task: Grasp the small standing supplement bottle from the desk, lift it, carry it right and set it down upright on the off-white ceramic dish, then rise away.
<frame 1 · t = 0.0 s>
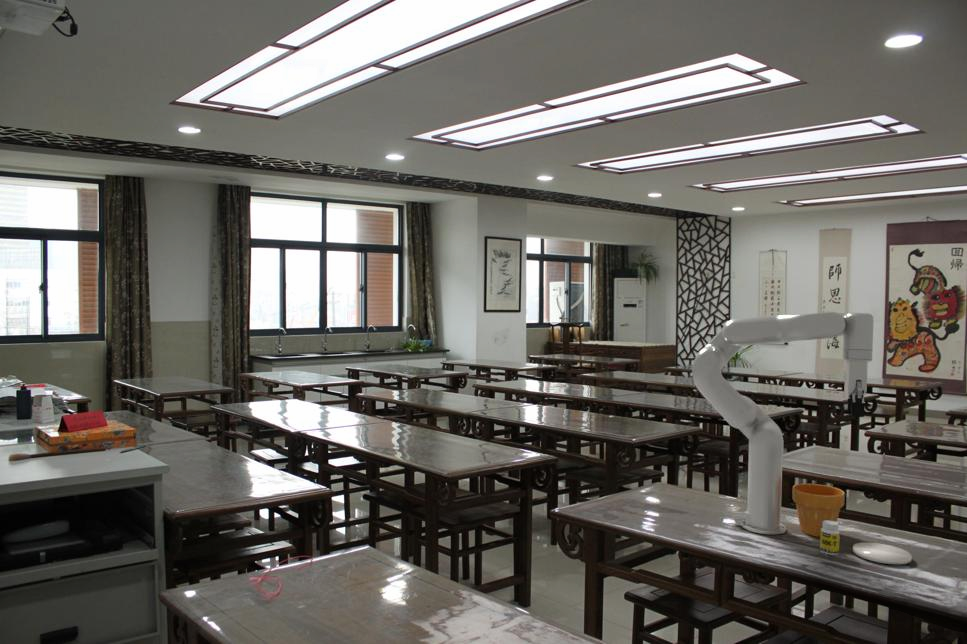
hand: (855, 414, 209), 37 cm above the table, tool pointing down, fingers open, 9 cm apart
supplement bottle: (829, 553, 198), on the table
flower pot: (816, 533, 216), on the table
dish: (881, 557, 196), on the table
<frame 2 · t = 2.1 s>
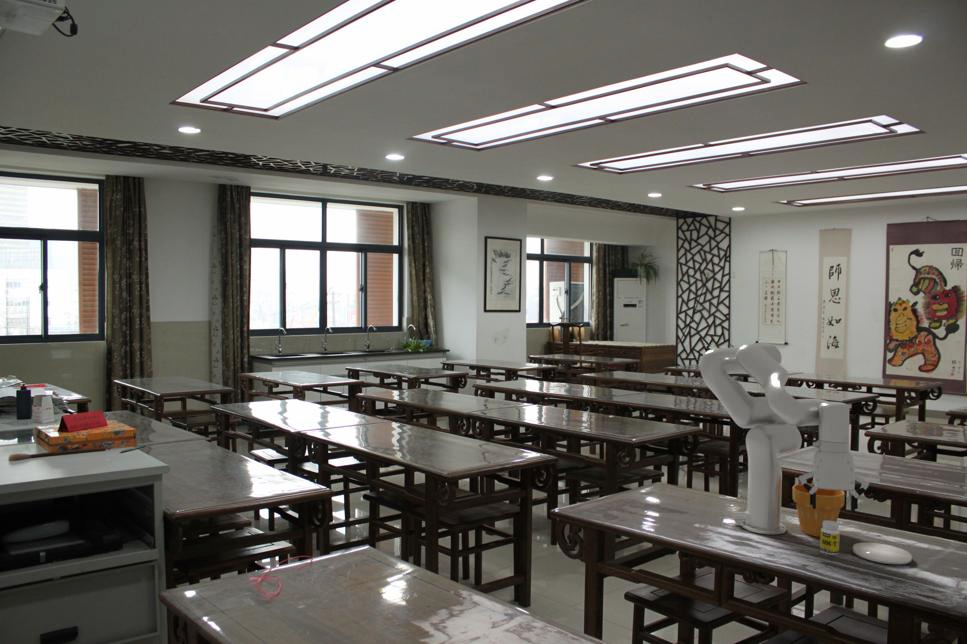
hand: (833, 509, 197), 12 cm above the table, tool pointing down, fingers open, 9 cm apart
nothing on the table moved.
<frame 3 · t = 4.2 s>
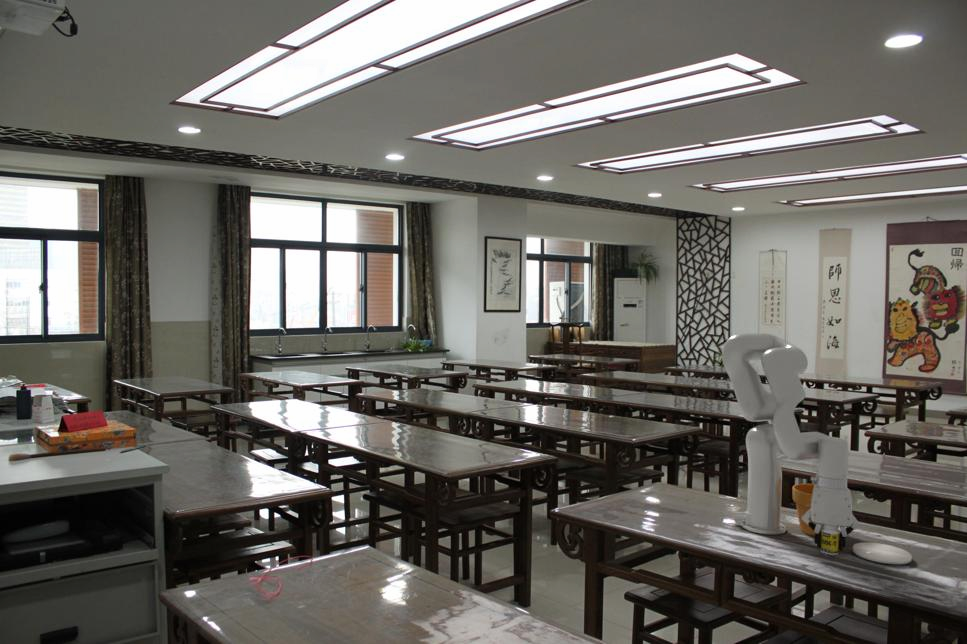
hand: (829, 547, 198), 1 cm above the table, tool pointing down, fingers closed on supplement bottle, 4 cm apart
supplement bottle: (829, 553, 198), on the table, touching gripper
everything else where it was.
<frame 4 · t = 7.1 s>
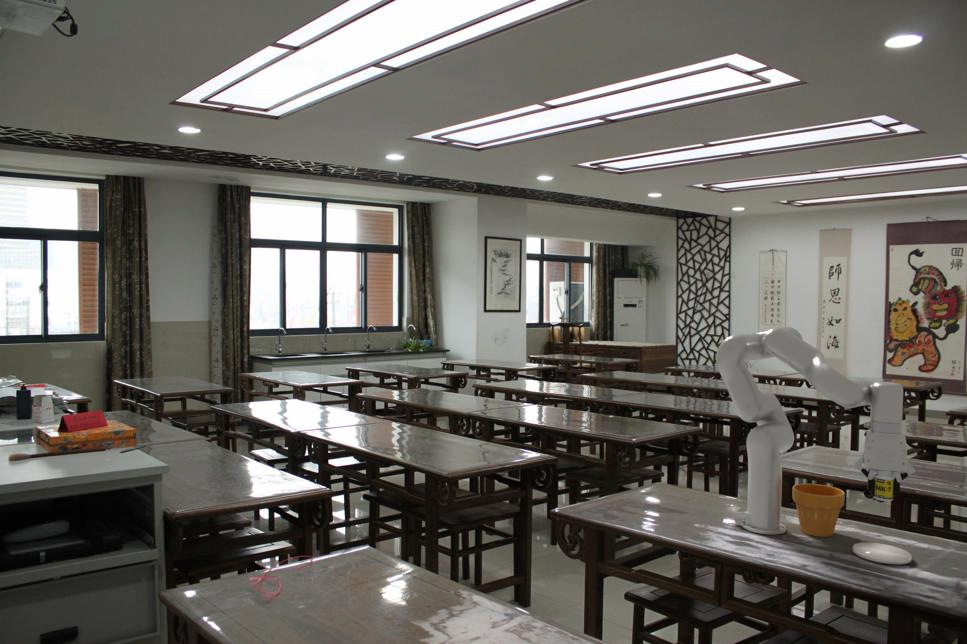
hand: (883, 493, 195), 17 cm above the table, tool pointing down, fingers closed on supplement bottle, 4 cm apart
supplement bottle: (883, 499, 195), point 16 cm above the table, touching gripper
everything else where it was.
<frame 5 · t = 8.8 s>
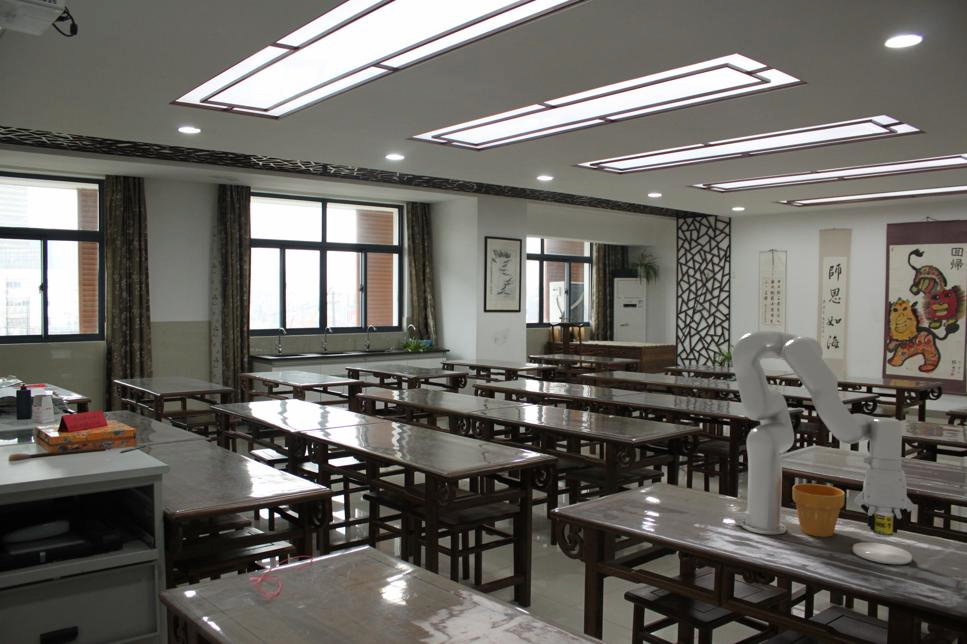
hand: (883, 529, 195), 8 cm above the table, tool pointing down, fingers closed on supplement bottle, 4 cm apart
supplement bottle: (883, 535, 195), point 6 cm above the table, touching gripper
everything else where it was.
when the fingers open (4 cm above the table, at t = 10.2 s): supplement bottle drops 1 cm, resting on dish.
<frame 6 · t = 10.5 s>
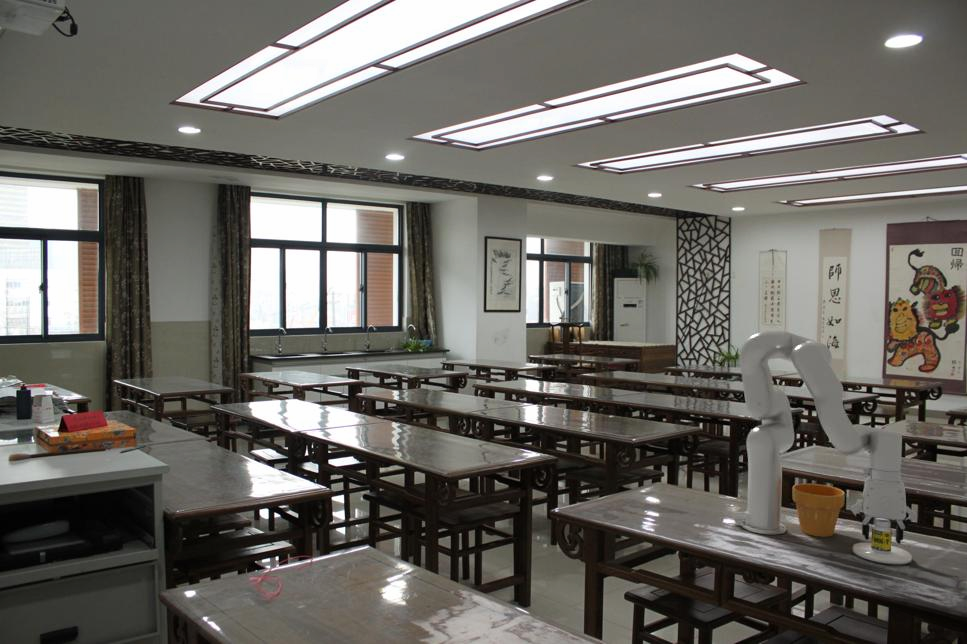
hand: (882, 539, 195), 5 cm above the table, tool pointing down, fingers open, 7 cm apart
supplement bottle: (881, 551, 196), point 1 cm above the table, touching dish
everything else where it was.
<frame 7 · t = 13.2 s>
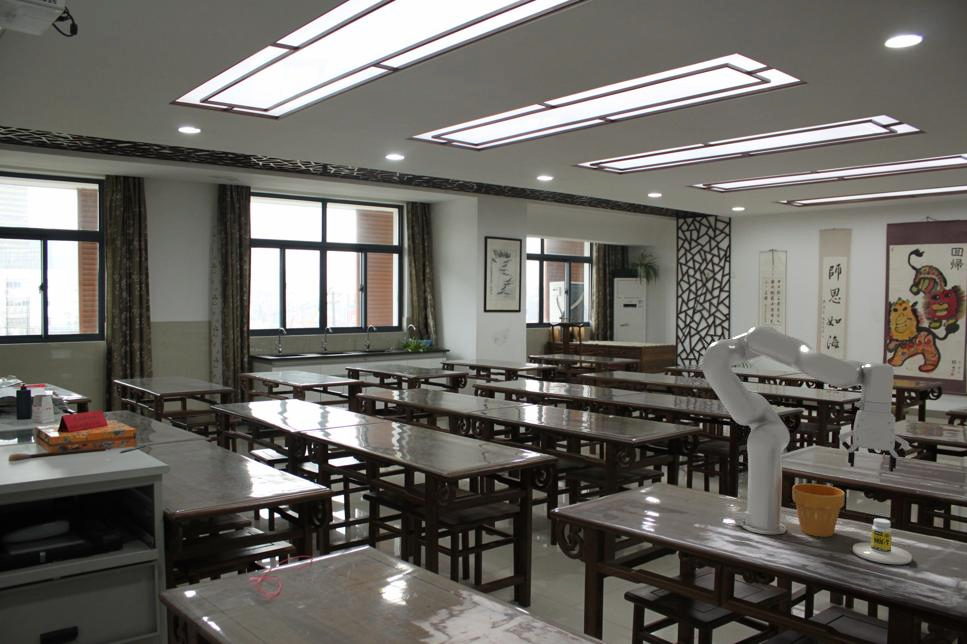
hand: (871, 468, 201), 23 cm above the table, tool pointing down, fingers open, 9 cm apart
nothing on the table moved.
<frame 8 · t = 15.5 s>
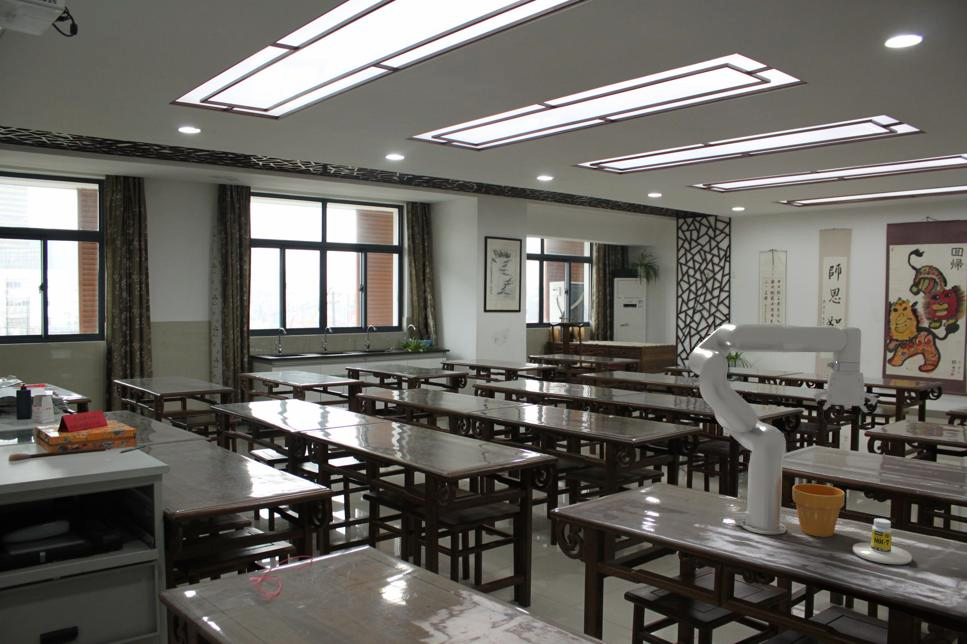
hand: (844, 423, 219), 32 cm above the table, tool pointing down, fingers open, 9 cm apart
nothing on the table moved.
at the end: supplement bottle inside the target area on the dish (0.2 cm from its centre), point 1.4 cm above the dish's base; supplement bottle tilted 0°; the gripper is holding nothing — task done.
